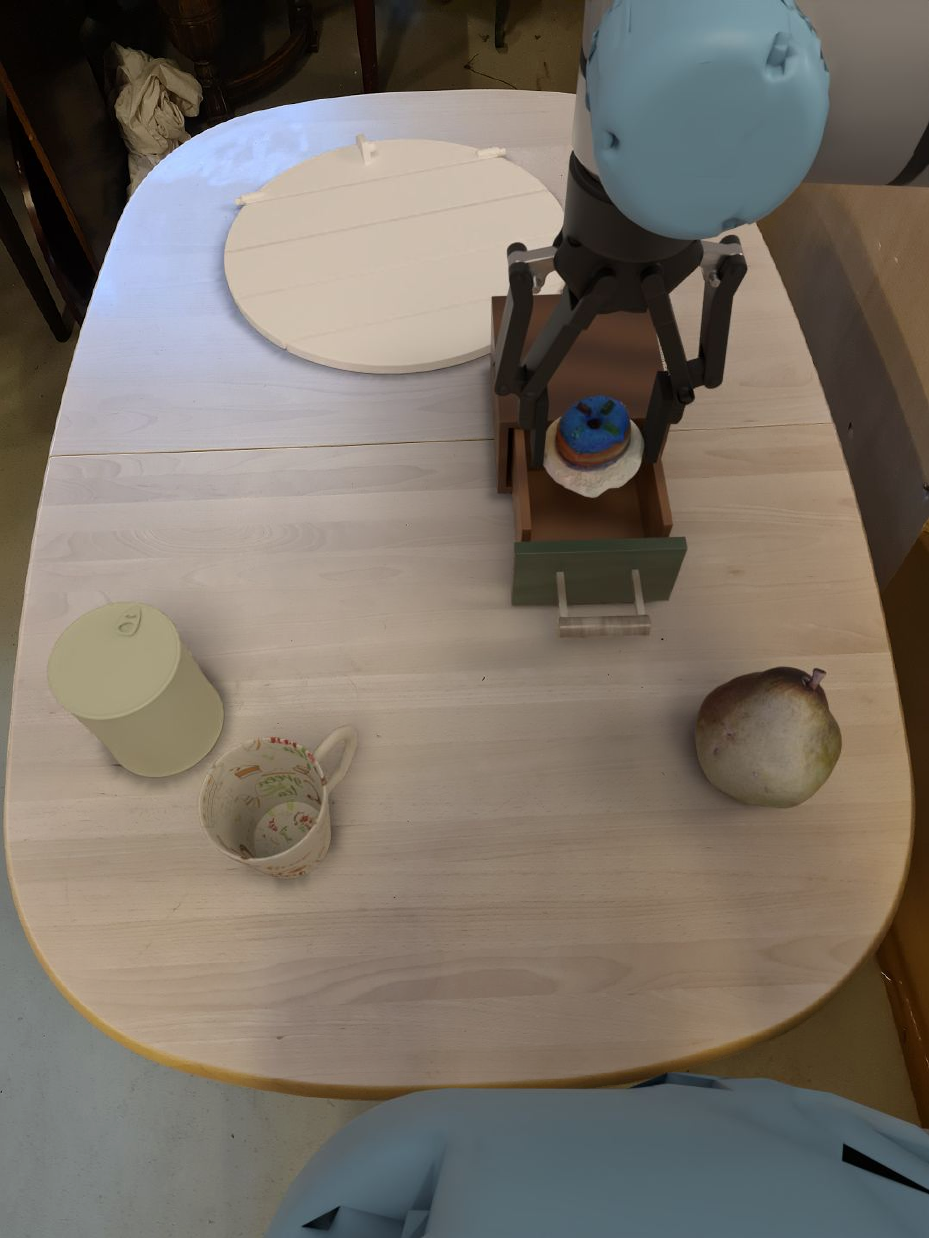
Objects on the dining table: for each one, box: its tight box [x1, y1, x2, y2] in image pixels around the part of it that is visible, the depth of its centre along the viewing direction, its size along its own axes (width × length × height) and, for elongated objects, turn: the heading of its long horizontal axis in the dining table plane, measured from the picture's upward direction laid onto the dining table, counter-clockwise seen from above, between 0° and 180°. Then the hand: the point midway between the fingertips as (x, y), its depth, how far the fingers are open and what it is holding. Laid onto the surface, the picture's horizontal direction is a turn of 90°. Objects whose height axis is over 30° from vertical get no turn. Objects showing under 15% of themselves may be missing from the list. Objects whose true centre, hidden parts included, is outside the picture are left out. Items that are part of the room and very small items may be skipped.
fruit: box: [694, 665, 843, 809], centre depth 61 cm, size 10×9×12 cm
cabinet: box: [489, 293, 672, 494], centre depth 80 cm, size 16×15×10 cm
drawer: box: [510, 424, 688, 639], centre depth 72 cm, size 20×13×8 cm, turn 2°
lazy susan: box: [223, 133, 565, 375], centre depth 96 cm, size 40×39×3 cm
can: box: [46, 601, 225, 778], centre depth 64 cm, size 9×9×12 cm
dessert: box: [543, 396, 644, 498], centre depth 63 cm, size 8×7×6 cm
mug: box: [197, 724, 359, 880], centre depth 61 cm, size 8×13×10 cm, turn 145°
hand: (592, 450), depth 63 cm, fingers closed on dessert, 8 cm apart
